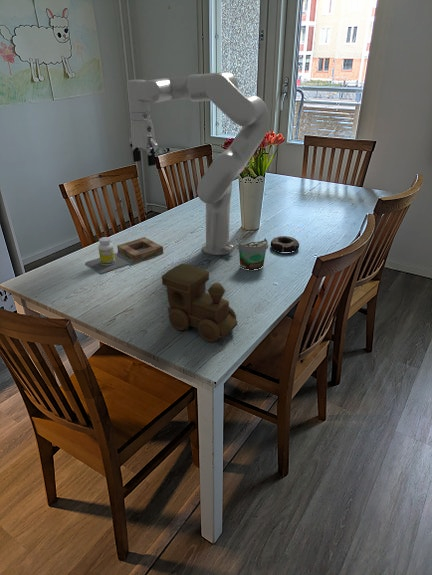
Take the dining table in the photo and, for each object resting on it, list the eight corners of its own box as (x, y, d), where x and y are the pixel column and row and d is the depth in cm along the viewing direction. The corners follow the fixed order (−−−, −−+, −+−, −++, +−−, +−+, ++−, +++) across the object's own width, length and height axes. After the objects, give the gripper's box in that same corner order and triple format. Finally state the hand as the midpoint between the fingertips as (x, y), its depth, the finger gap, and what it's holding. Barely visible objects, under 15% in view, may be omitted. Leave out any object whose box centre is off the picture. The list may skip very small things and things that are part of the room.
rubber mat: (129, 264, 158) (129, 263, 157) (100, 274, 151) (100, 273, 150) (113, 254, 165) (113, 253, 165) (85, 263, 158) (85, 262, 158)
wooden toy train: (162, 325, 123) (158, 276, 115) (185, 308, 131) (183, 261, 123) (219, 348, 114) (220, 296, 105) (240, 328, 122) (242, 278, 114)
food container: (245, 275, 151) (246, 250, 146) (236, 268, 155) (237, 243, 150) (273, 268, 156) (275, 243, 151) (264, 261, 160) (265, 237, 155)
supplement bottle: (102, 259, 160) (98, 236, 155) (116, 259, 160) (113, 236, 155) (99, 266, 155) (95, 242, 150) (114, 265, 156) (111, 241, 151)
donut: (264, 249, 171) (265, 240, 169) (281, 241, 178) (281, 232, 176) (287, 257, 164) (288, 248, 162) (304, 248, 171) (305, 239, 169)
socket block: (163, 253, 166) (162, 246, 165) (135, 263, 159) (134, 255, 157) (145, 243, 175) (144, 237, 173) (118, 252, 167) (117, 245, 166)
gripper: (162, 117, 151) (165, 165, 160) (135, 113, 162) (139, 158, 171) (145, 119, 147) (149, 168, 155) (119, 115, 158) (124, 161, 166)
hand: (144, 163), depth 163 cm, fingers open, 9 cm apart
